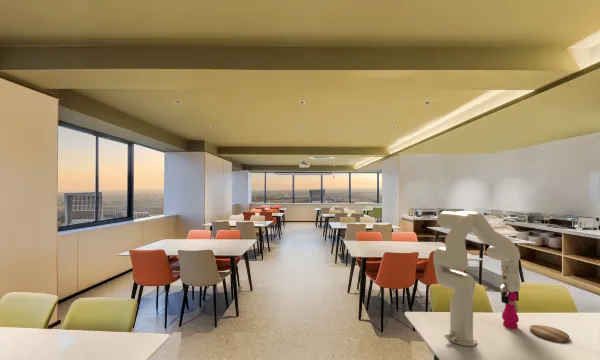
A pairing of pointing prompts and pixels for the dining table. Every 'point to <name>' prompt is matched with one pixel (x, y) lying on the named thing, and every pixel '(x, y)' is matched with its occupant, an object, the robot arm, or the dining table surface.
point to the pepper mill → (510, 312)
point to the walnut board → (549, 333)
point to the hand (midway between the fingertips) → (510, 301)
